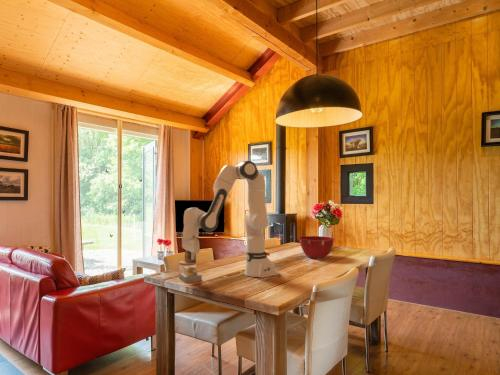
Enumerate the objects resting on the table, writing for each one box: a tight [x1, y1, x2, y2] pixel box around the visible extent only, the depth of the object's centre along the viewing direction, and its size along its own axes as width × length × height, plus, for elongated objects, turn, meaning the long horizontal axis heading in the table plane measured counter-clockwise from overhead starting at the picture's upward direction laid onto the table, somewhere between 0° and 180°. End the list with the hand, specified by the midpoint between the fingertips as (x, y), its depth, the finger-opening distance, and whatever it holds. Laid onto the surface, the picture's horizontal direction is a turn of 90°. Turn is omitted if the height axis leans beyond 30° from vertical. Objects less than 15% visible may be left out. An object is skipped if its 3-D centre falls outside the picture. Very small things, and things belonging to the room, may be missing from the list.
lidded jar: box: [178, 259, 197, 273], centre depth 201 cm, size 11×11×9 cm
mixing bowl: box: [298, 235, 335, 259], centre depth 261 cm, size 28×28×16 cm
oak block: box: [184, 266, 198, 276], centre depth 189 cm, size 6×6×4 cm
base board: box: [178, 272, 203, 283], centre depth 189 cm, size 10×10×3 cm
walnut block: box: [184, 250, 197, 264], centre depth 189 cm, size 5×5×6 cm
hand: (190, 258), depth 189 cm, fingers closed on walnut block, 5 cm apart
